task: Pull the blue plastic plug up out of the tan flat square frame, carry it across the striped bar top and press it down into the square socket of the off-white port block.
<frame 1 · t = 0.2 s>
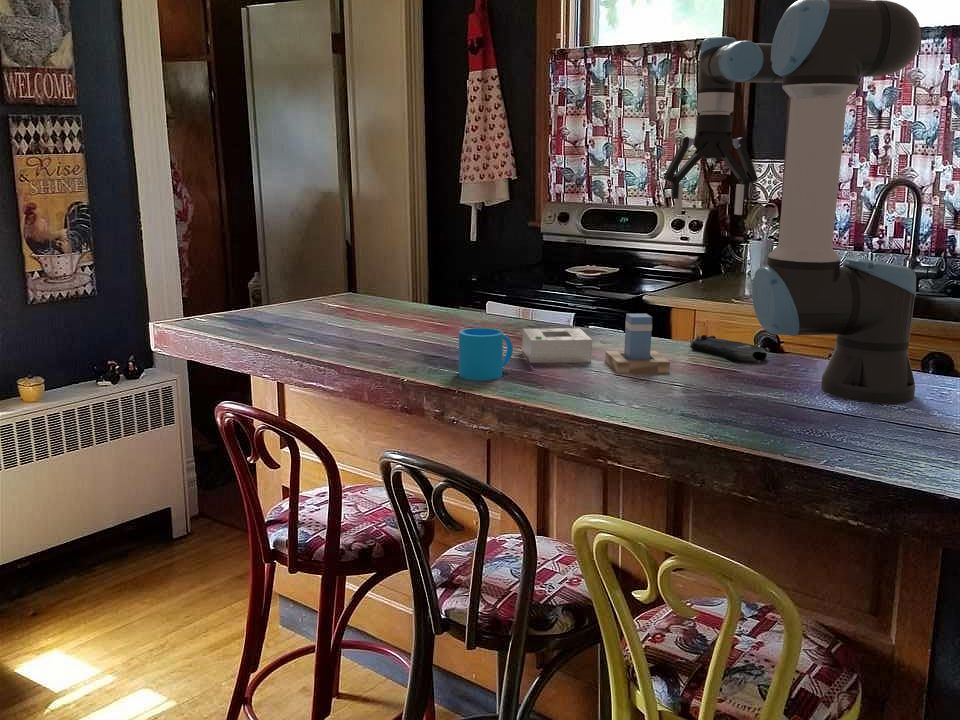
hand: (708, 214, 201), 28 cm above the countertop, fingers open, 13 cm apart
electronic device: (730, 358, 190), on the countertop
port block: (555, 358, 185), on the countertop
tan flat square frame: (636, 368, 177), on the countertop
mug: (488, 374, 172), on the countertop
plug: (636, 366, 177), resting on tan flat square frame
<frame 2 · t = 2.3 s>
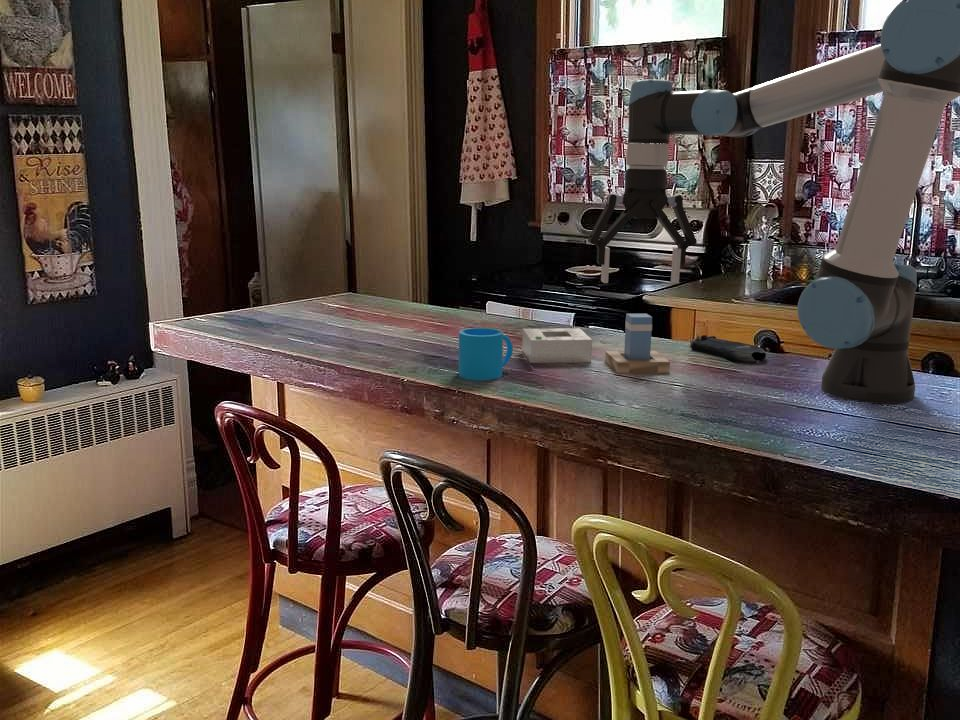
hand: (639, 282, 173), 17 cm above the countertop, fingers open, 13 cm apart
nothing on the countertop moved.
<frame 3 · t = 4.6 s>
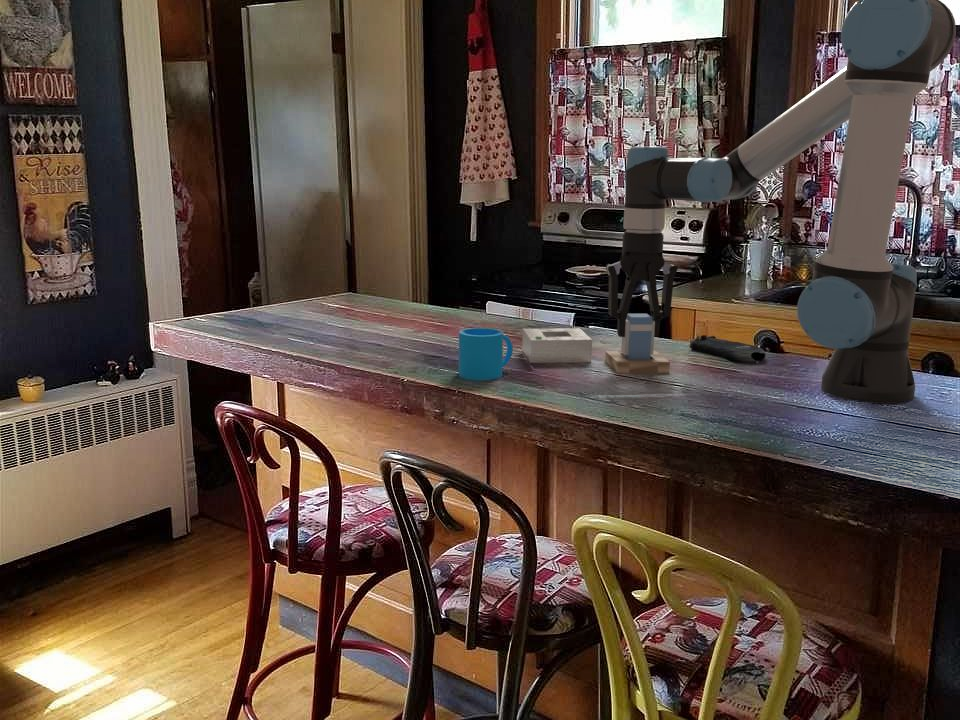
hand: (637, 353, 176), 3 cm above the countertop, fingers closed on plug, 4 cm apart
plug: (636, 366, 177), resting on tan flat square frame, touching gripper
everything else where it was.
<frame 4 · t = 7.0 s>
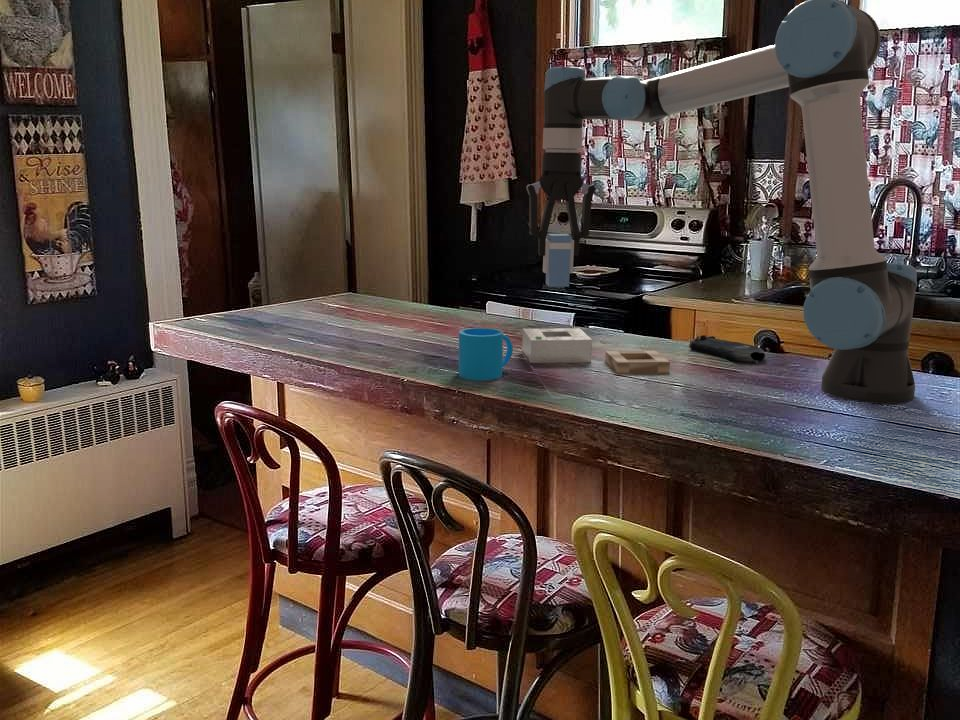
hand: (557, 272, 181), 17 cm above the countertop, fingers closed on plug, 4 cm apart
plug: (557, 285, 182), point 15 cm above the countertop, touching gripper
everything else where it was.
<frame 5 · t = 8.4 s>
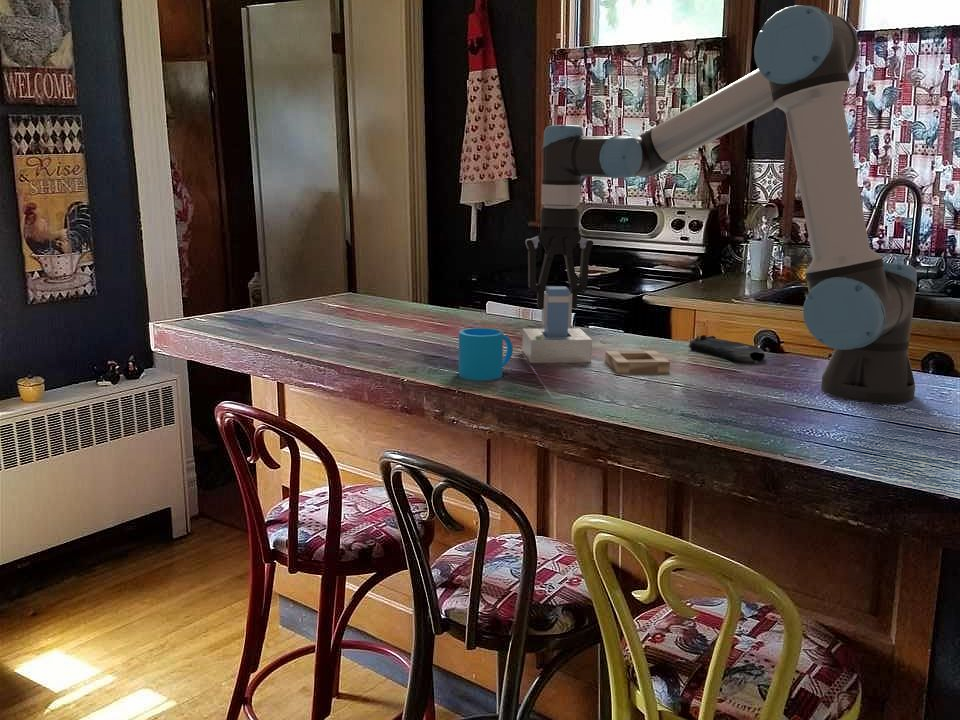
hand: (556, 324, 184), 7 cm above the countertop, fingers closed on plug, 4 cm apart
plug: (555, 337, 184), point 4 cm above the countertop, touching gripper
everything else where it was.
when the fingers open (6 cm above the countertop, at t = 9.5 s): plug drops 2 cm, resting on port block.
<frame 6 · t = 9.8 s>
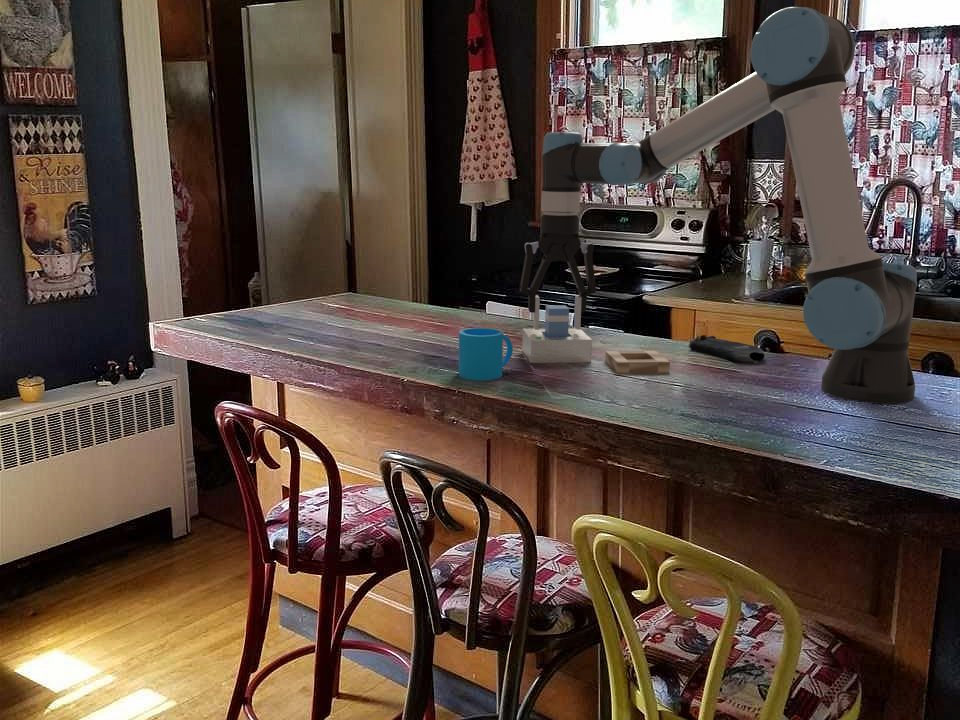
hand: (556, 328, 184), 6 cm above the countertop, fingers open, 8 cm apart
plug: (555, 355, 185), resting on port block
everything else where it was.
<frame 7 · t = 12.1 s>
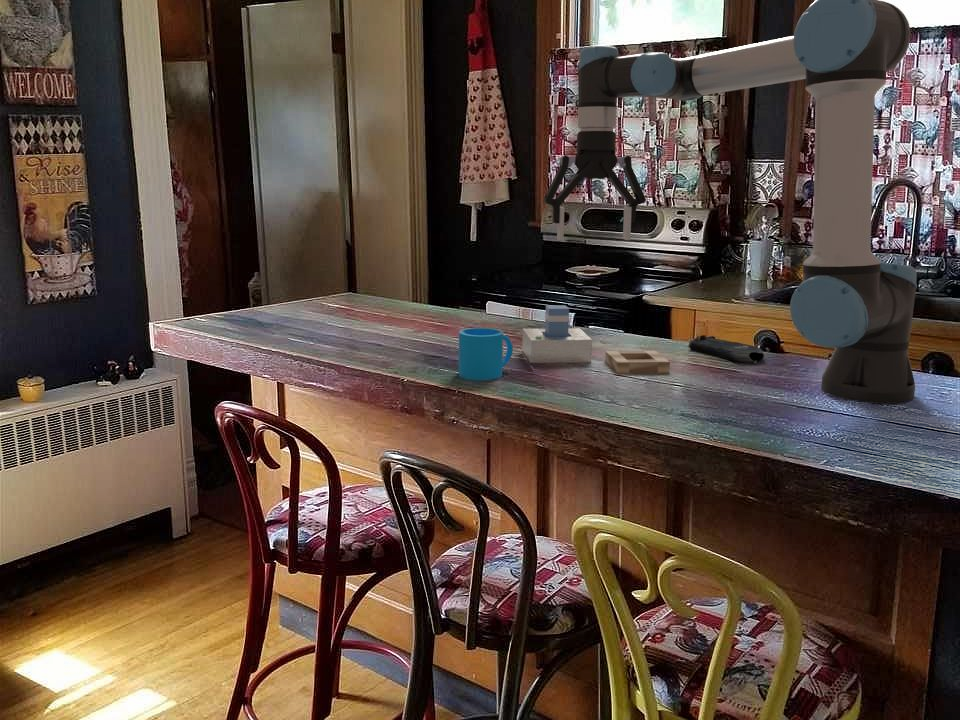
hand: (593, 240, 183), 24 cm above the countertop, fingers open, 13 cm apart
nothing on the countertop moved.
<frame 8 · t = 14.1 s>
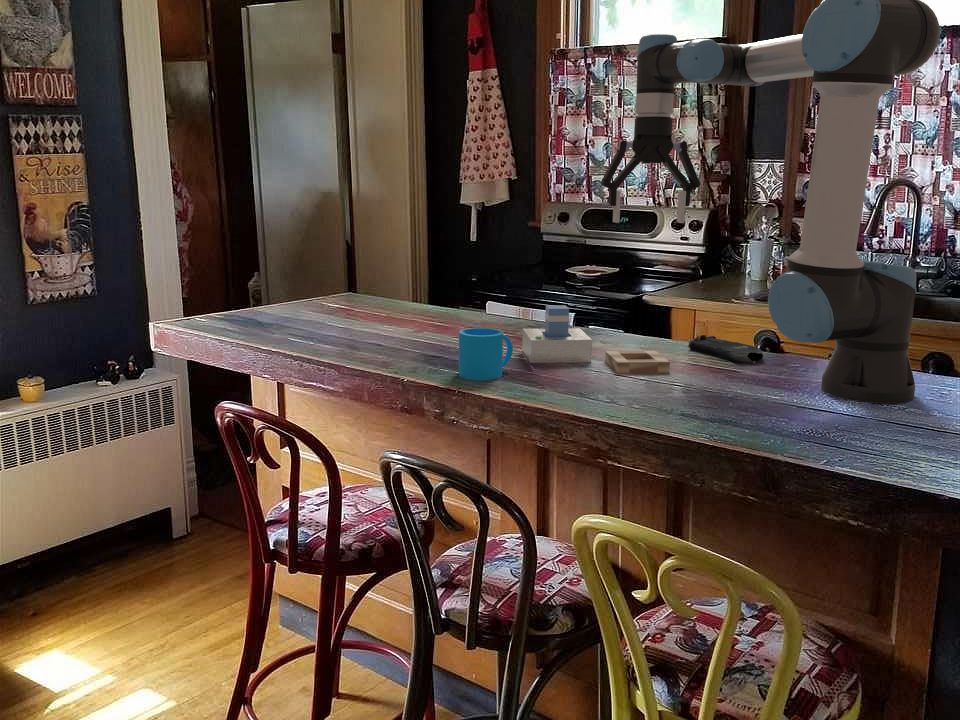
hand: (648, 222, 189), 27 cm above the countertop, fingers open, 13 cm apart
nothing on the countertop moved.
at the end: plug 0.0 cm off-centre on the port block, point 0.5 cm above the port block's base; plug tilted 0°; the gripper is holding nothing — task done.
